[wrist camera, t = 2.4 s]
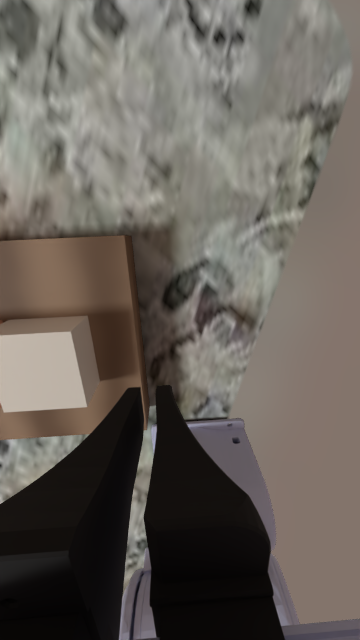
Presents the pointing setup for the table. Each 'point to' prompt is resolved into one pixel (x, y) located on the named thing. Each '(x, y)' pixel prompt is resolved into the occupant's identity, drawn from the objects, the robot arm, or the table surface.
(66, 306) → the brown wooden board
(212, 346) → the table surface
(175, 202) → the table surface
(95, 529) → the robot arm
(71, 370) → the cream tile
